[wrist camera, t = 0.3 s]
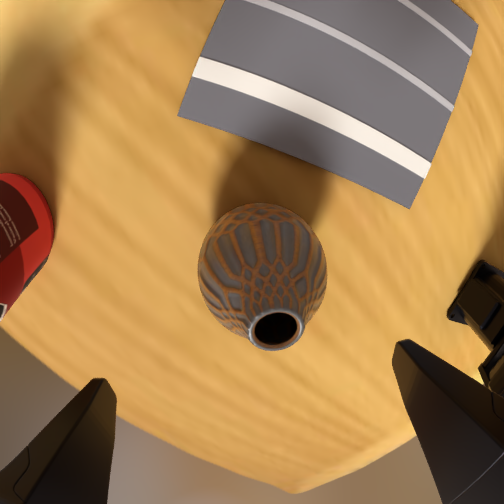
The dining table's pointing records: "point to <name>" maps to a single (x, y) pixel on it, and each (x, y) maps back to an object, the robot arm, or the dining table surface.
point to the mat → (337, 83)
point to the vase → (263, 274)
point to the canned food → (21, 236)
